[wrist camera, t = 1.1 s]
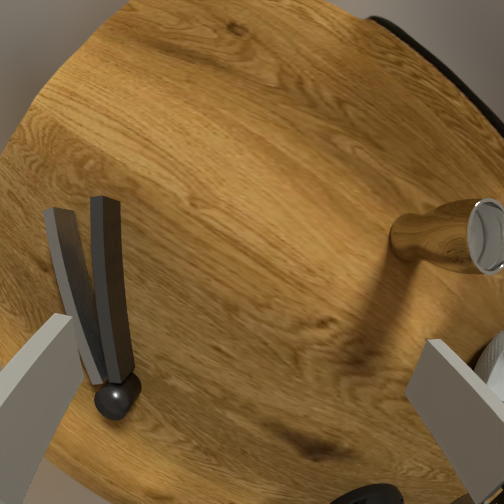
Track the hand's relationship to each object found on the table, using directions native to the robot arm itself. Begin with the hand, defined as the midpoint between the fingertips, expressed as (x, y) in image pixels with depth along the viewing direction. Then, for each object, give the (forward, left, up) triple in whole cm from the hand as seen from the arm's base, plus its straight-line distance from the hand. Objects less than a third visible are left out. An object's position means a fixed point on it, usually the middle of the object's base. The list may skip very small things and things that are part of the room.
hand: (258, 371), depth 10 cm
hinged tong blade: (-7, +18, -24) cm, 31 cm away
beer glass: (+11, -18, -25) cm, 32 cm away
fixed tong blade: (-8, +14, -24) cm, 29 cm away
